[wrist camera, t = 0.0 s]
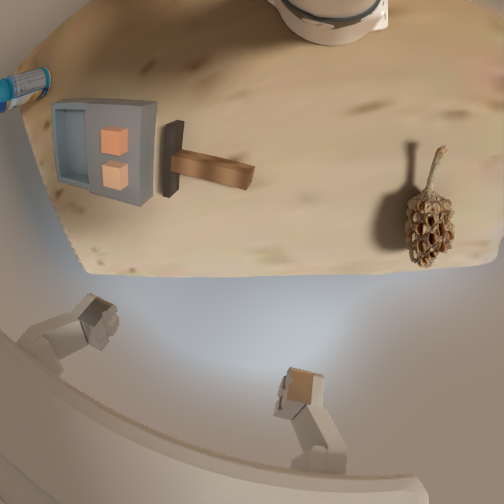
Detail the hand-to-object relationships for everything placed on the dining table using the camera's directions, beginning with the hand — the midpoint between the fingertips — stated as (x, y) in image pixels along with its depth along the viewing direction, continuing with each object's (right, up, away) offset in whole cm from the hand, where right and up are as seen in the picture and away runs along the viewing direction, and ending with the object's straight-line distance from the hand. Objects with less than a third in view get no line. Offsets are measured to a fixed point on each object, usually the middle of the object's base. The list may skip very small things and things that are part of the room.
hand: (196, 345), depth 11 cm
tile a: (-22, +25, +32) cm, 46 cm away
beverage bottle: (-48, +45, +30) cm, 73 cm away
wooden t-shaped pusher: (-4, +20, +37) cm, 42 cm away
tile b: (-23, +19, +36) cm, 47 cm away
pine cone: (+33, +14, +30) cm, 46 cm away
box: (-36, +29, +39) cm, 60 cm away
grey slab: (-23, +25, +38) cm, 51 cm away
